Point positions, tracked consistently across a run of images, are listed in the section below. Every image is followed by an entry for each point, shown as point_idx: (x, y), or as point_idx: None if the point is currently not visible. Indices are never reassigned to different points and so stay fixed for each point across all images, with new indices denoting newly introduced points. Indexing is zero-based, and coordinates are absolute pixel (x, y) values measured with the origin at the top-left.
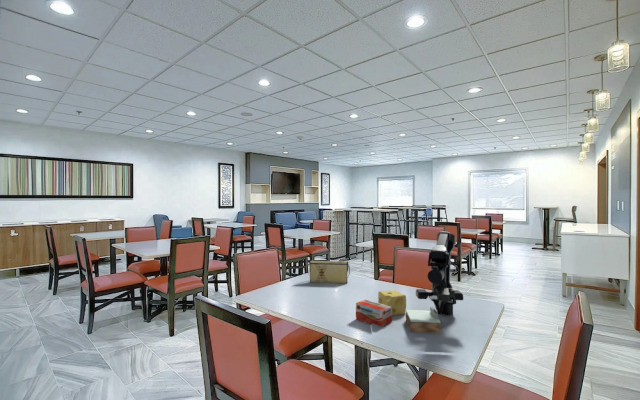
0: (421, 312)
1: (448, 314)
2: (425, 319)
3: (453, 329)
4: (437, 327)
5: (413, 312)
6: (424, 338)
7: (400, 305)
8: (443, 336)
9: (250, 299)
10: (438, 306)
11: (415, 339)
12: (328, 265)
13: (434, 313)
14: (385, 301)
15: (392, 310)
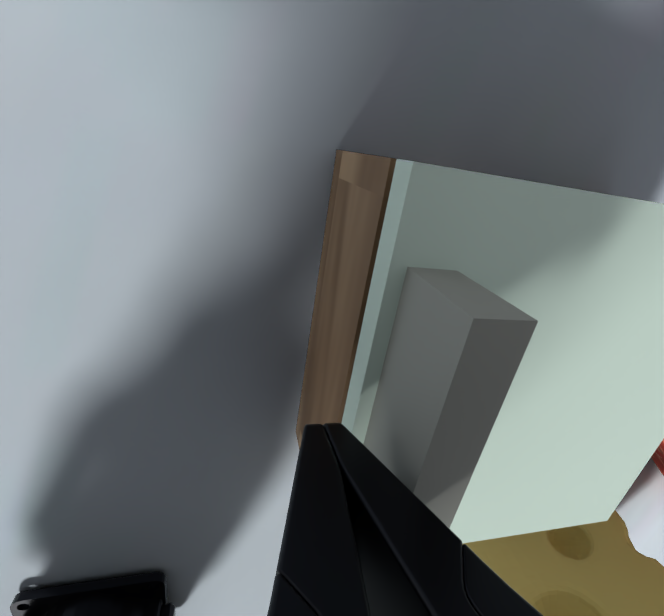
0: (500, 486)
1: (72, 612)
2: (621, 243)
3: (104, 320)
4: None
5: (589, 469)
6: (555, 66)
7: (535, 606)
8: (310, 109)
9: None
10: (435, 588)
11: (655, 47)
12: None
13: (504, 354)
14: None
15: (560, 545)
